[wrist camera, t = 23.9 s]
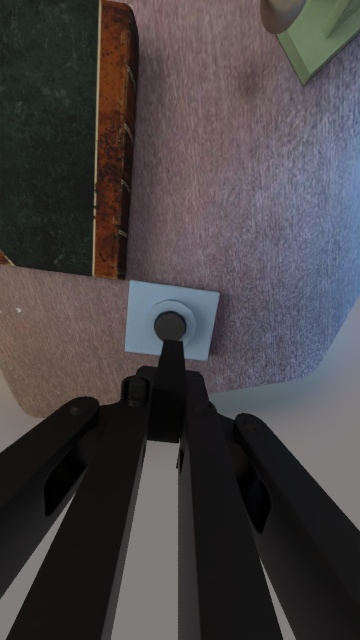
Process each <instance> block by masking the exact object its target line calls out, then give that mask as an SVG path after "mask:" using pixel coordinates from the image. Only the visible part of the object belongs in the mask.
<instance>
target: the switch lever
mask: <svg viewBox="0 0 360 640" xmlns="http://www.w3.org/2000/svg"><path fill="white" fill-rule="evenodd" d="M306 1H307V0H261V1H260V14H261V20H262V23H263V26H264V28H265V29H266V30H267V31H268V32H269V33H270V34H280V33H282V32H284V31H286V30H287V29H288V28H289V27H290V26H291V25H292V24H293V23H294V22H295V21H296V19H297V18H298V16H299V15H300V13H301V11H302V9H303V7H304V5H305V3H306Z"/></svg>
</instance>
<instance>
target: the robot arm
mask: <svg viewBox="0 0 360 640" xmlns="http://www.w3.org/2000/svg"><path fill="white" fill-rule="evenodd" d="M179 439H180V448H179V453H178V459H177V465H176V468H177V469H178V640H283V637H282V634H281V630H280V627H279V623H278V620H277V616H276V613H275V610H274V606H273V603H272V599H271V596H270V592H269V589H268V586H267V582H266V579H265V575H264V572H263V568H262V565H261V562H260V559H261V561H262V563H263V565H264V568H265V570H266V572H267V575H268V577H269V579H270V582H271V584H272V586H273V588H274V591H275V593H276V595H277V597H278V600H279V602H280V604H281V606H282V609H283V611H284V613H285V615H286V618H287V620H288V622H289V624H290V627H291V629H292V631H293V633H294V636H295V638H296V640H360V531H359V530H358V529H357V528H356V527H355V525H354V524H353V523H352V522H351V521H350V520H349V518H348V517H347V516H346V515H345V514H344V513H343V512H342V511H341V509H340V508H339V507H338V506H337V505H336V504H335V502H334V501H333V500H332V499H331V498H330V497H329V496H328V495H327V493H326V492H325V491H324V490H323V489H322V488H321V486H320V485H319V484H318V483H317V482H316V481H315V480H314V478H313V477H312V476H311V475H310V474H309V473H308V472H307V470H306V469H305V468H304V467H303V466H302V465H301V464H300V462H299V461H298V460H297V459H296V458H295V457H294V456H293V454H292V453H291V452H290V451H289V450H288V449H287V448H286V446H285V445H284V444H283V443H282V442H281V441H280V440H279V439H278V437H277V436H276V435H275V434H274V433H273V432H272V430H271V429H270V428H269V427H268V426H267V425H266V424H265V423H264V422H263V421H262V420H261V419H259V418H258V417H256V416H254V415H251V414H247V413H241V414H238V415H237V416H236V418H235V420H233V419H230V418H227V417H225V416H223V415H220V414H219V413H217V410H216V408H215V406H214V405H213V404H212V403H211V402H210V401H209V398H208V394H207V390H206V387H205V382H204V379H203V376H202V375H201V374H200V373H199V372H197V371H189V370H185V359H184V347H183V341H176V340H169V339H164V342H163V347H162V351H161V355H160V360H159V364H158V367H151V366H142V367H140V368H139V369H138V370H137V372H136V375H133V376H129V377H127V378H125V379H124V380H123V381H122V386H121V399H120V401H119V402H117V403H114V404H110V405H102V406H99V402H98V400H97V399H95V398H93V397H87V396H85V397H78V398H75V399H72V400H70V401H69V402H67V403H66V404H64V405H63V406H62V407H60V408H59V409H58V410H56V411H55V412H54V413H52V414H51V415H50V416H48V417H47V418H46V419H44V420H43V421H42V422H41V423H39V424H38V425H37V426H35V427H34V428H33V429H31V430H30V431H29V432H27V433H26V434H25V435H23V436H22V437H21V438H19V439H18V440H17V441H15V442H14V443H13V444H11V445H10V446H9V447H7V448H6V449H5V450H4V451H2V452H1V453H0V599H1V597H2V596H3V595H4V593H5V592H6V590H7V589H8V588H9V586H10V585H11V583H12V582H13V580H14V579H15V578H16V576H17V575H18V573H19V572H20V570H21V569H22V568H23V566H24V565H25V563H26V562H27V560H28V559H29V558H30V556H31V555H32V553H33V552H34V551H35V549H36V548H37V546H38V545H39V544H40V542H41V541H42V539H43V538H44V536H45V535H46V534H47V532H48V531H49V529H50V528H51V526H52V525H53V524H54V522H55V521H56V519H57V518H58V517H59V515H60V514H61V512H62V511H63V509H64V508H65V507H66V505H67V504H68V502H69V501H70V500H71V498H72V497H73V495H74V494H75V496H74V498H73V500H72V502H71V504H70V506H69V508H68V510H67V512H66V515H65V517H64V519H63V521H62V523H61V525H60V527H59V529H58V532H57V533H56V536H55V538H54V540H53V542H52V544H51V546H50V548H49V550H48V552H47V554H46V557H45V559H44V561H43V563H42V565H41V567H40V569H39V571H38V574H37V575H36V578H35V580H34V582H33V584H32V586H31V588H30V590H29V592H28V594H27V597H26V599H25V601H24V603H23V605H22V607H21V609H20V611H19V613H18V615H17V617H16V620H15V622H14V624H13V626H12V628H11V630H10V633H9V634H8V636H7V638H6V640H111V635H112V629H113V624H114V618H115V613H116V607H117V602H118V597H119V592H120V586H121V581H122V575H123V570H124V565H125V559H126V554H127V548H128V543H129V538H130V532H131V526H132V521H133V516H134V511H135V505H136V500H137V495H138V489H139V483H140V478H141V473H142V467H143V462H144V457H145V451H146V443H147V440H150V441H160V442H169V443H179ZM75 492H76V493H75ZM259 557H260V558H259Z"/></svg>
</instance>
